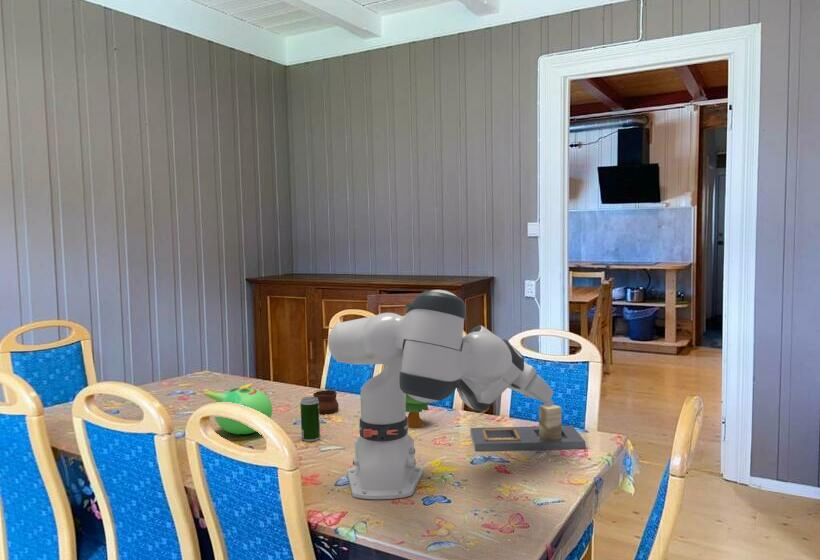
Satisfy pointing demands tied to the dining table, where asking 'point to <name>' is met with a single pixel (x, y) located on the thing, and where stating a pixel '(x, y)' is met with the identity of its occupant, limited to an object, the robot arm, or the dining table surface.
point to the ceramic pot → (327, 401)
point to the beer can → (310, 419)
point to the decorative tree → (414, 411)
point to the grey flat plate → (524, 439)
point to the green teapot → (242, 397)
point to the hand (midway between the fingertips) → (539, 400)
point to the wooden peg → (550, 422)
